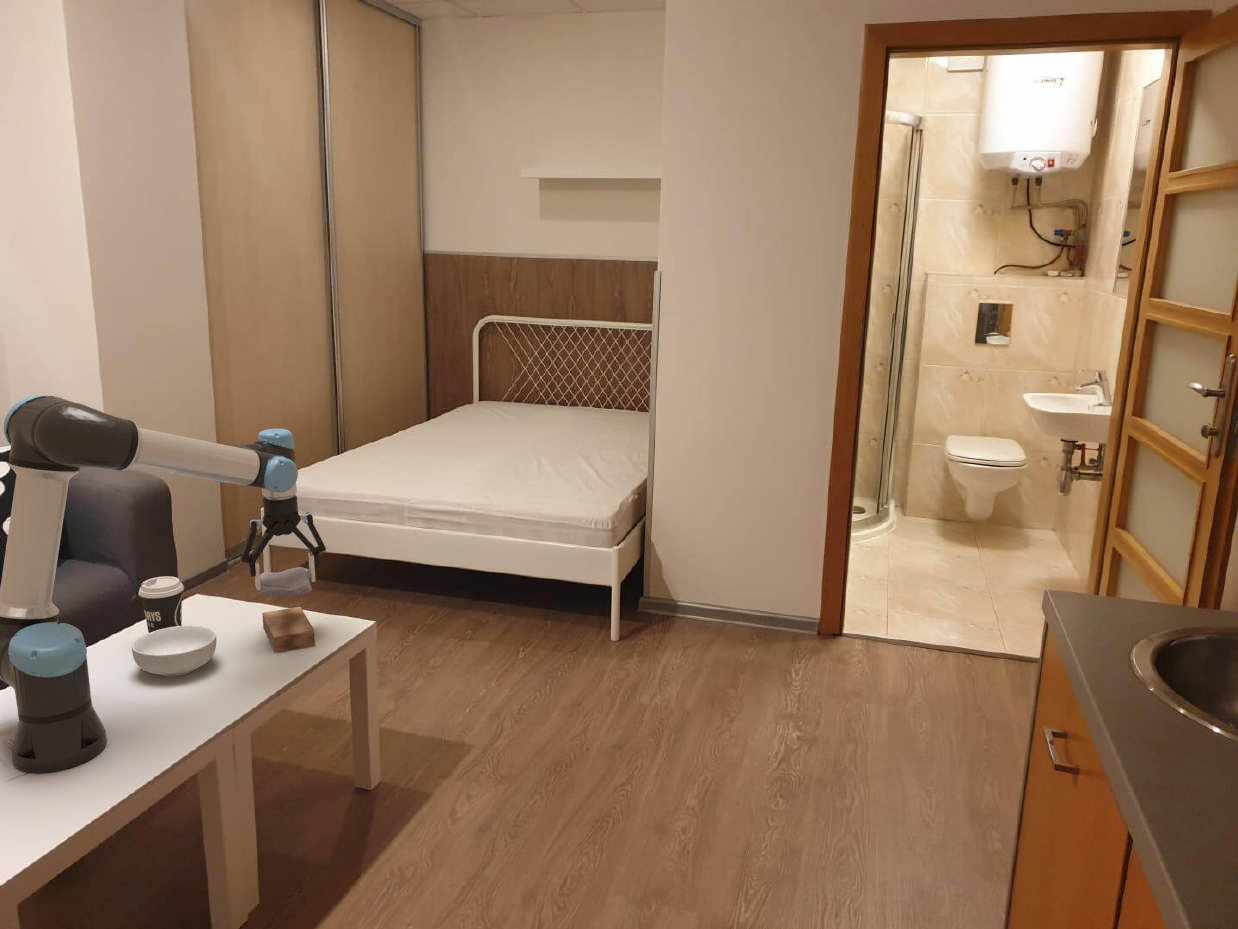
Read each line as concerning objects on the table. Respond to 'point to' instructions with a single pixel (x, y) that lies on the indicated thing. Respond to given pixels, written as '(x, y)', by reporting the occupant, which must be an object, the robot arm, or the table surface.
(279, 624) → the walnut plinth
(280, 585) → the stone block
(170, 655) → the cereal bowl
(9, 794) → the table surface
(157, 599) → the coffee cup
